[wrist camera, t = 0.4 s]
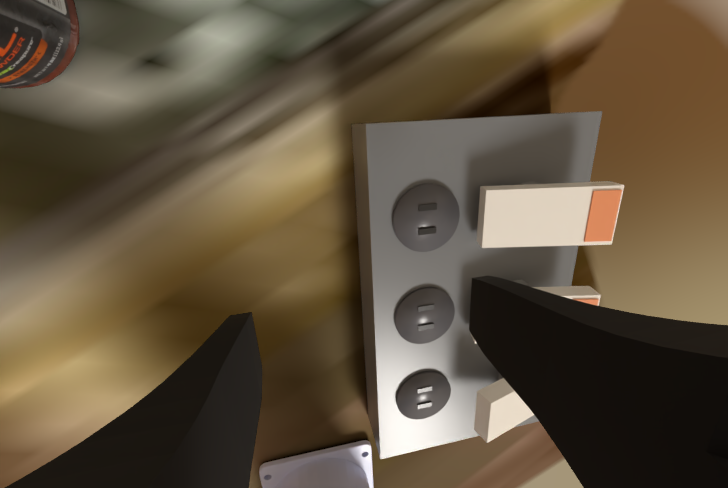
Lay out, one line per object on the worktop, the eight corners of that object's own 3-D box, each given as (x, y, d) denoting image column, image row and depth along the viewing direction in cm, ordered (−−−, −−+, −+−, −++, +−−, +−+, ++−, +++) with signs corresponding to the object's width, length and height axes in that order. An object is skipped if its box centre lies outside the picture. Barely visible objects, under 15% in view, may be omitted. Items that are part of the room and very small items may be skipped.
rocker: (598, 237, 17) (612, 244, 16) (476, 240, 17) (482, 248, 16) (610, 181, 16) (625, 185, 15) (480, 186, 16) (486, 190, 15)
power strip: (515, 383, 27) (554, 427, 23) (368, 415, 25) (383, 469, 21) (551, 113, 20) (615, 110, 16) (351, 124, 18) (369, 123, 14)
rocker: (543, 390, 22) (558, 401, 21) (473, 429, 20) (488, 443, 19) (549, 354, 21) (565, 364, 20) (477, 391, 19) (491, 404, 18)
